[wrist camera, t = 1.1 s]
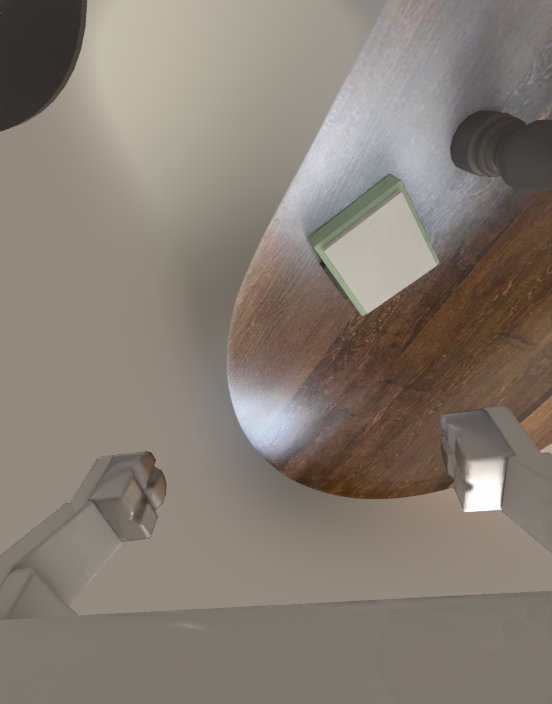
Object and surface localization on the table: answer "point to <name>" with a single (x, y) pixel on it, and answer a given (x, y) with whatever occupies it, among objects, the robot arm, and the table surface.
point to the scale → (375, 246)
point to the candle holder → (505, 149)
